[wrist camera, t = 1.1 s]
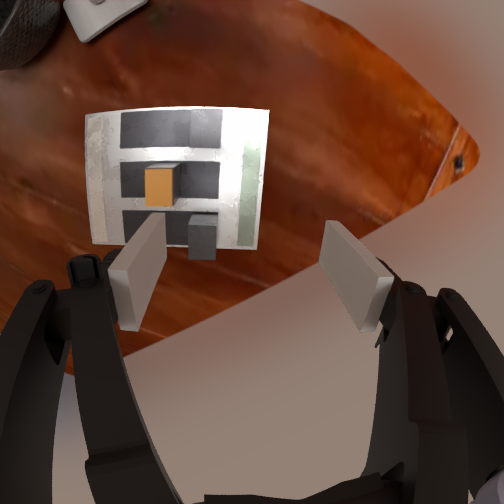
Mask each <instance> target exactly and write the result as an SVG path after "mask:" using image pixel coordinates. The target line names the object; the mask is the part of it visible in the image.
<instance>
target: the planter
mask: <svg viewBox="0 0 504 504" xmlns="http://www.w3.org/2000/svg"><path fill="white" fill-rule="evenodd" d="M60 10H61V9H60V2H59V0H0V71H3V70H9V69H13V68H17V67H19V66H22V65H23V64H25V63H27V62H28V61H30V60H31V59H33V58H34V57H35V56H36V55H37V54H38V53H39V52H40V51H41V50H42V49H43V48H44V47H45V46H46V45H47V44H48V42H49V41H50V39H51V38H52V36H53V35H54V32H55V30H56V27H57V24H58V22H59V18H60Z"/></svg>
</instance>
